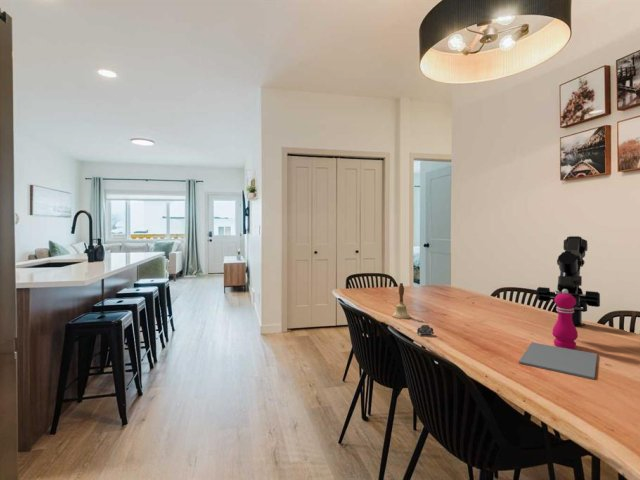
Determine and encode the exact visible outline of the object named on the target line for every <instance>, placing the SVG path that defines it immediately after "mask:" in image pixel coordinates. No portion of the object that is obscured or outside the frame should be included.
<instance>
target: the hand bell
mask: <svg viewBox="0 0 640 480" xmlns="http://www.w3.org/2000/svg"><path fill="white" fill-rule="evenodd" d="M404 294H405V286H404V283H403V282H400V283H399V286H398V295H399V303H398V304H396V307H395V311H394V313H392V315H393V316H394V317H393V316H392V317H393V318H395V317H396V318H395V319H400V318H406V319H409V317H410V318H411V315H410V314H409V313H408V310H407V305H406V304H404Z"/></svg>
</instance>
